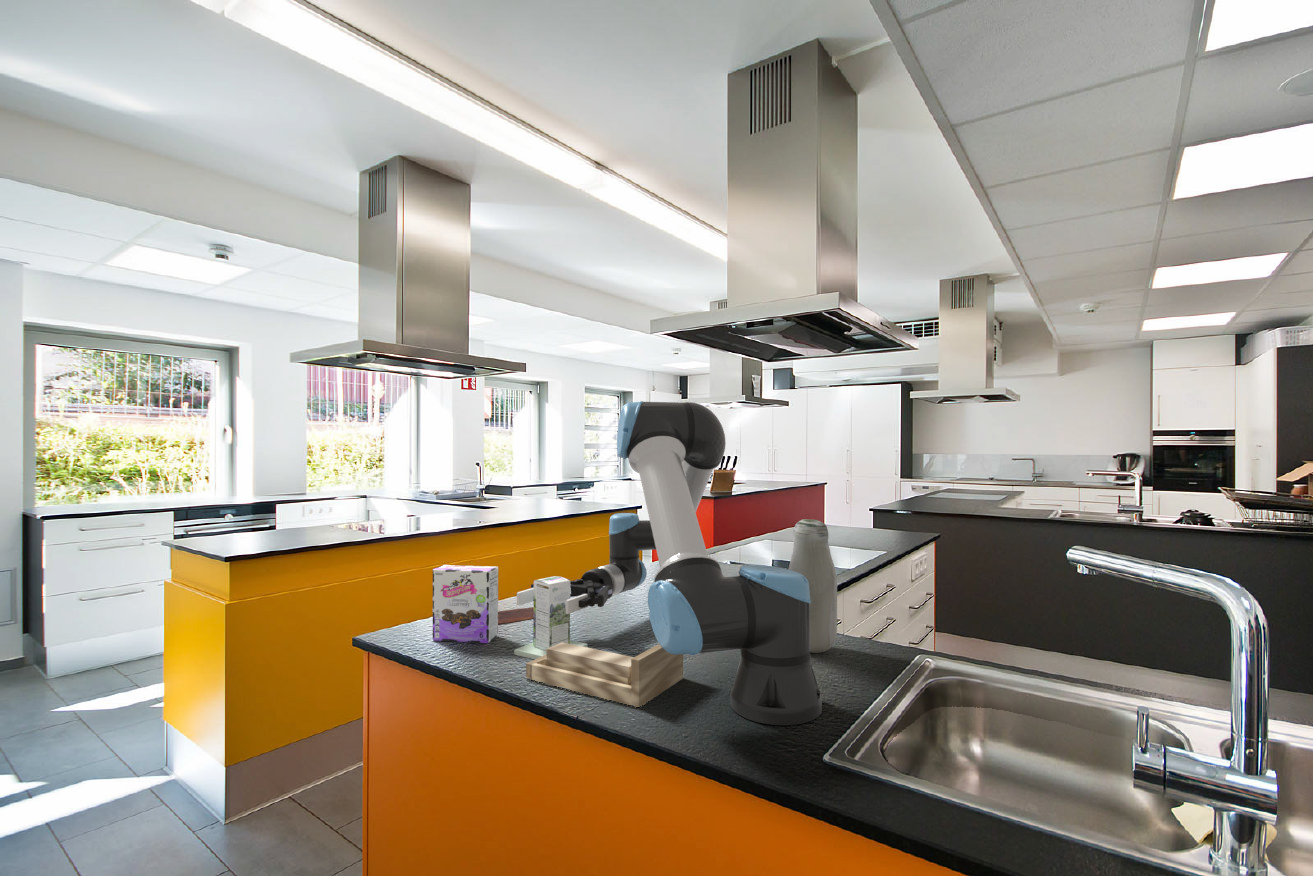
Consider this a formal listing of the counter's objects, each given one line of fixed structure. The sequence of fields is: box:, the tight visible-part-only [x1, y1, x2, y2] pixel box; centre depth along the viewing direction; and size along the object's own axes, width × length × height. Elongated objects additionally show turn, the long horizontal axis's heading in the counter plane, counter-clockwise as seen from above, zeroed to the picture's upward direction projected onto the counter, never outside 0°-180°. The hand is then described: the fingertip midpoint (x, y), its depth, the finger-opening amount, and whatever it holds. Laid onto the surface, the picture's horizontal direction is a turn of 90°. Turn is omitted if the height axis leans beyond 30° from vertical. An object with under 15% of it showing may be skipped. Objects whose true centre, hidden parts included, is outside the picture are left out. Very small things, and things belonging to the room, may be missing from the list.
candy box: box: [432, 564, 499, 644], centre depth 142 cm, size 14×6×16 cm, turn 80°
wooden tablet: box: [498, 606, 534, 626], centre depth 162 cm, size 26×2×10 cm
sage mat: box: [513, 639, 589, 660], centre depth 133 cm, size 11×11×1 cm
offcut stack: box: [545, 642, 635, 686], centre depth 114 cm, size 20×4×6 cm, turn 58°
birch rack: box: [525, 643, 684, 708], centre depth 117 cm, size 26×16×8 cm, turn 59°
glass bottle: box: [787, 518, 838, 654], centre depth 132 cm, size 10×10×28 cm
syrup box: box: [532, 575, 571, 651], centre depth 133 cm, size 6×6×14 cm
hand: (541, 603), depth 130 cm, fingers open, 13 cm apart
